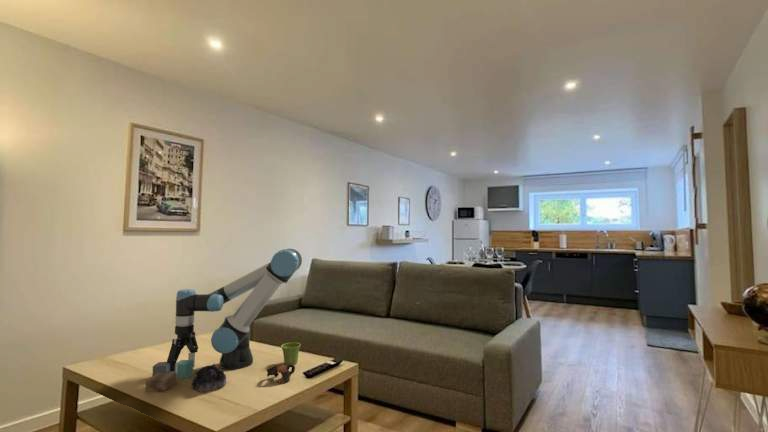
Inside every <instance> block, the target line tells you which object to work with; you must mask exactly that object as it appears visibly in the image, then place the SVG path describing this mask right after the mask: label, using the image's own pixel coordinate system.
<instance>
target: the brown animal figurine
mask: <svg viewBox="0 0 768 432" xmlns="http://www.w3.org/2000/svg"><path fill="white" fill-rule="evenodd" d="M290 368H291V370H290ZM295 371H296V367H295V364H289V365H286V364H284V363H283V362H279V363H278V364H275V365H273V366H272V367H269V368H268V369H266V372H267V374H266V377H268V378H269V376H273V377H275V378H277V377H279V374H280V375H281V377H280V378H279V379H278V383H279V385H282V384H284V383H287V382H290V378H291V375H293V374H294V372H295Z"/></svg>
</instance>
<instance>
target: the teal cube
mask: <svg viewBox="0 0 768 432" xmlns="http://www.w3.org/2000/svg"><path fill="white" fill-rule="evenodd" d="M176 363H178V364H177V378H176V379H186V378H187V379H188V377H190V376H192V375H193V374H194V368H193V360H188V359H181V360H179V361H177V362H176Z"/></svg>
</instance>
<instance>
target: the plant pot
mask: <svg viewBox="0 0 768 432" xmlns="http://www.w3.org/2000/svg"><path fill="white" fill-rule="evenodd" d="M301 345H302V344H301V343H299V342H287V343H283V344H282V345H281V346H280V347H281V348H282V349H281V350H282V355H283V362H284V363H283V364H284V365H289V364H293V365H295V364H297V363H298V360H299V359H298V358H299V353H300V347H301Z"/></svg>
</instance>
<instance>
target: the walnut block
mask: <svg viewBox="0 0 768 432" xmlns="http://www.w3.org/2000/svg"><path fill="white" fill-rule="evenodd" d="M152 375H153V374H152ZM176 375H177V373H157V374H155V375H153V376H150V377H149V378H147V379H145V390H144V391H145V393H167V392H168V391H170V389H172V388H174V387H175V386H177V378H176ZM166 391H167V392H166Z"/></svg>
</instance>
